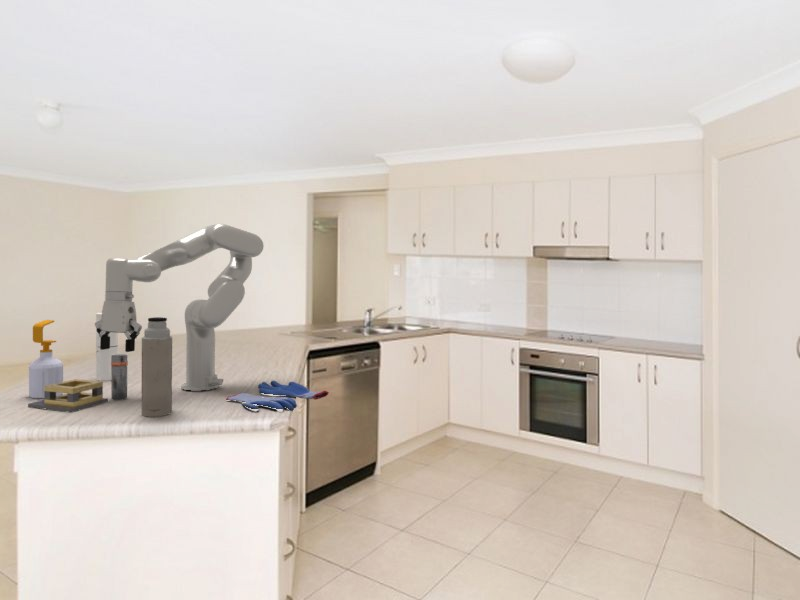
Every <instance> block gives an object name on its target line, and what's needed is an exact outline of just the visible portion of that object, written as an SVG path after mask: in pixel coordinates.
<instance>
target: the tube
mask: <svg viewBox="0 0 800 600" xmlns="http://www.w3.org/2000/svg"><path fill="white" fill-rule="evenodd" d="M128 362H129V361H128V354H125V353H124V354H122V353H121V354H119V353H118V354H117V355H112V356H111V380H110V381H111V388H110V389H111V390H110V391H111V393H110V396H111V398H110V399H111V401H122V399H123V400H126V398H127V399H128V364H129V363H128Z"/></svg>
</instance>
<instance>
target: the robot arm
mask: <svg viewBox="0 0 800 600" xmlns="http://www.w3.org/2000/svg"><path fill="white" fill-rule="evenodd" d="M218 249H225V250H228V251H229V254H230V260H229V263H228V264H227V265H226V267H225V268H224V269H223V270H222V271H221V272H220V274H218V275H217V276H216V278H215V279H214V280H213V281H212V282H211V283H210V284H209V286H208V288H207V295H208V298H207V299H202V298H201V299H200V298H199V299H195V300H193V301H191V302H189V303H188V305H187V306H186V308H185V310H184V323H185V329H186V330H185V333H186V334H185V335H186V347H185V348H186V349H185V350H186V351H185V353H186V357H185V358H186V359H185V360H186V361H185V362H186V363H185V371H186V372H185V373H186V374H185V376H186V377H185V383H182V384H181V389H182V390H183V389H184V391H186V390H191V391H190V392H202V391H201V390H206V391H211V390H210V389H212V390H215V389H214V388H216V389H218V388H219V387H220V386H222V385H223V382H224V379H223V378H218V374H215V373H216V333H215V329H216V328H218V327H219V326H221V325H222V324H224V322H225V321H226V320H227V319H228V318H229V316H231V315H232V313H233V312H234V311H235V310H236V309H237V308H238V307H239V305H240V304H241V303H242V302H243V299H244V297H245V294H246V291H245V286H244V284H245V282H246V281H247V280H248V279H249V277H250V276H251V274H252V270H253V258H255V257H258V256H260V255H261V253H262V252H263V250H264V242H263V239H261V237H260V236H259V235H257V234H255V233H252V232H250V231H247V230H243V229H241V228H236V227H235V226H231V225H227V224H224V223H217V224H210V225H207V226H204V227H203V228H201V229H199V230H196V231H195V232H194V231H193V233H191V234H188V235H186V236H184V237H182V238H180V239H178V240H176V241H173V242H171V243H169V244H167V245H165V246H163V247H160V248H158V249H155V250H153V251H151V252H149V253H147V254H144V255H143V256H140V257H138V258H136V259H128V258H116V257H114V258H113V257H111V258H108V259H107V260H106V263H105V289H104V290H105V295H104V297H105V298H104V301H103V305H102V311H101V313H102V316H101V320H99V321H97V322H96V321H95V322H94V327H95V330H96V329H97V332H98V334H99V337H101V339H100V349H101V350H104V349H109V348H110V336H109V334H110V333H111V332H115V333H118V334H124V335H125V337H126V338H127V339H125V346H124V347H125V350H124V351H125V352H126V353H129V352H135V350H136V349H135V348H136V347H135V346H136V339H137V338H138V336H139V335H140V333H141V331H142V328H143V325H141V324H140V323H139V322H137V310H136V309H137V308H136V304H135V301H133V299H134V298H135V295H134V294H133V282H134V281H136V282H139V283H152V282H156V281H157V280H158V279H159V278H161V277H160V276H161V275H162V273H163V272H164V271H167V270H169V269H171V268H175V267H178V266H183V265H187V264H189V263H193V262H194V261H196V260H198V259H200V258H201V257H203V256H205V255H208V254H209V253H212V252H213V251H215V250H218ZM217 387H218V388H217Z"/></svg>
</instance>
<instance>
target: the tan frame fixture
mask: <svg viewBox="0 0 800 600" xmlns="http://www.w3.org/2000/svg"><path fill="white" fill-rule="evenodd" d="M103 383H104V382H103V381H98V380H90V379H77V378H75V379H71V380H70V379H69V380H66V381H63V382H60V383H56V384H51V385H46V386H44V398H43V400H38V401H33V402H30V403H28V404H27V407H28V408H31V407H37V408H36V409H40V408H46V409H45V410H48V409H53V410H52V411H56V410H60V411H59V412H65V411H69V412H68V413H73V412H72V411H74V412H77V411H79V409H81V410H83V408H84V409H86V408H87V407H88V408H90V407H93V406H97V405H101V404H105V403H107V402H109V399H108V398H109V397H108V398H107V397H104V395H103V393H104V390H103V389H104V384H103ZM90 390H91V392H86V391H90ZM56 392H59V393H63V394H62V395H60V396H56ZM88 408H87V409H88ZM76 410H77V411H76Z"/></svg>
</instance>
